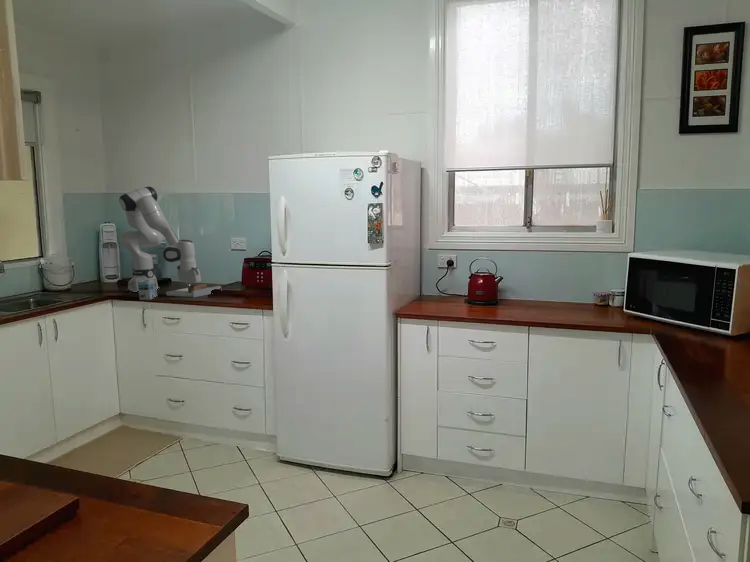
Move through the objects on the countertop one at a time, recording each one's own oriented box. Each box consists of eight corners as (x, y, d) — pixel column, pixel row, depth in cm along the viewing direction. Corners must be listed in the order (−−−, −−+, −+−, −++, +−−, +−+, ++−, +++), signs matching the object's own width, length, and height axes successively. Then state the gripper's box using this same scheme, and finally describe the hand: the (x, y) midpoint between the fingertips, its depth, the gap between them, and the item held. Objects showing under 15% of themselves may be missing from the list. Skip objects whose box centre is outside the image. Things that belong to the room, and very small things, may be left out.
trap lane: (166, 295, 347) (165, 289, 347) (194, 289, 365) (193, 284, 364) (193, 297, 334) (193, 291, 333) (221, 291, 351) (221, 285, 351)
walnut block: (188, 292, 339) (187, 286, 338) (200, 290, 348) (200, 283, 347) (194, 293, 337) (193, 286, 336) (207, 290, 345) (206, 283, 345)
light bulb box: (150, 299, 333) (148, 281, 332) (139, 300, 333) (137, 281, 332) (157, 296, 344) (156, 278, 342) (146, 297, 344) (144, 279, 342)
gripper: (202, 266, 338) (204, 290, 340) (184, 265, 352) (186, 287, 354) (192, 268, 333) (195, 291, 335) (175, 266, 347) (177, 289, 349)
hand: (190, 289), depth 345 cm, fingers closed
